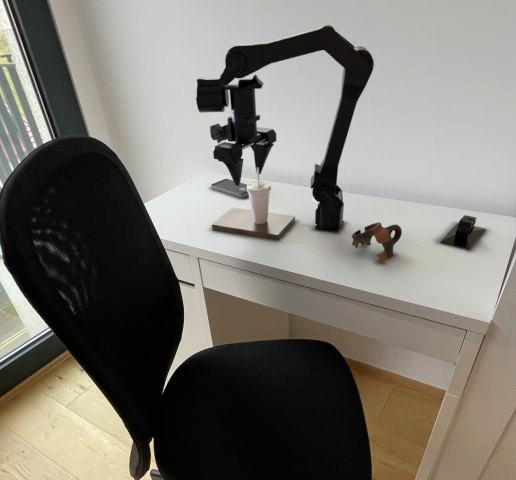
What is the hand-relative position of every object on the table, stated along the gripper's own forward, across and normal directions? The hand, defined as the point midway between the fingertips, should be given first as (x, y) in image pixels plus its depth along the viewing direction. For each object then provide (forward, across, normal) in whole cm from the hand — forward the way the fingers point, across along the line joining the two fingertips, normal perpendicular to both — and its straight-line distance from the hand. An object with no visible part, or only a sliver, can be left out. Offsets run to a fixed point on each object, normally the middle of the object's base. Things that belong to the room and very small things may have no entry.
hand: (248, 179), depth 104 cm
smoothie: (+12, -2, +2) cm, 12 cm away
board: (+13, -1, 0) cm, 13 cm away
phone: (+13, -20, -21) cm, 32 cm away
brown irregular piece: (+13, -3, +35) cm, 38 cm away
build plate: (+13, -21, +51) cm, 56 cm away
